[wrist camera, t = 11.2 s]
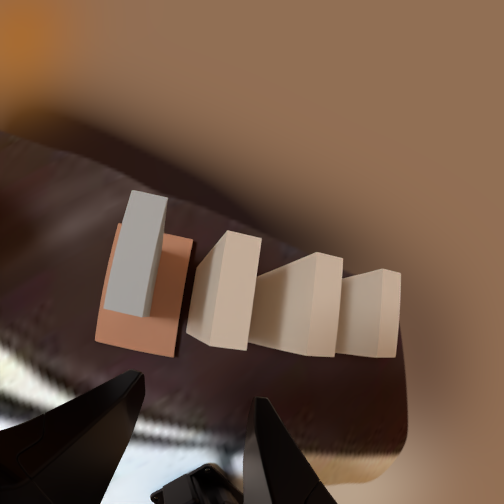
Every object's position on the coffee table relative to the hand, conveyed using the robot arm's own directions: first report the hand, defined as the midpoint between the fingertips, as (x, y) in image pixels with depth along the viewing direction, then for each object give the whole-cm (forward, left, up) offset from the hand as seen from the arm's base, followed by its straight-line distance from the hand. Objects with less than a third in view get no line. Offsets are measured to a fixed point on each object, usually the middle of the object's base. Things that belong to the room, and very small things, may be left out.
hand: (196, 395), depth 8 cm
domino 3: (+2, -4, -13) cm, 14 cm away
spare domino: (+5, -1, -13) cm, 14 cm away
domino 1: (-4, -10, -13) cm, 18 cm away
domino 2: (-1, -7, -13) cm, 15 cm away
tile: (+5, -1, -13) cm, 14 cm away
